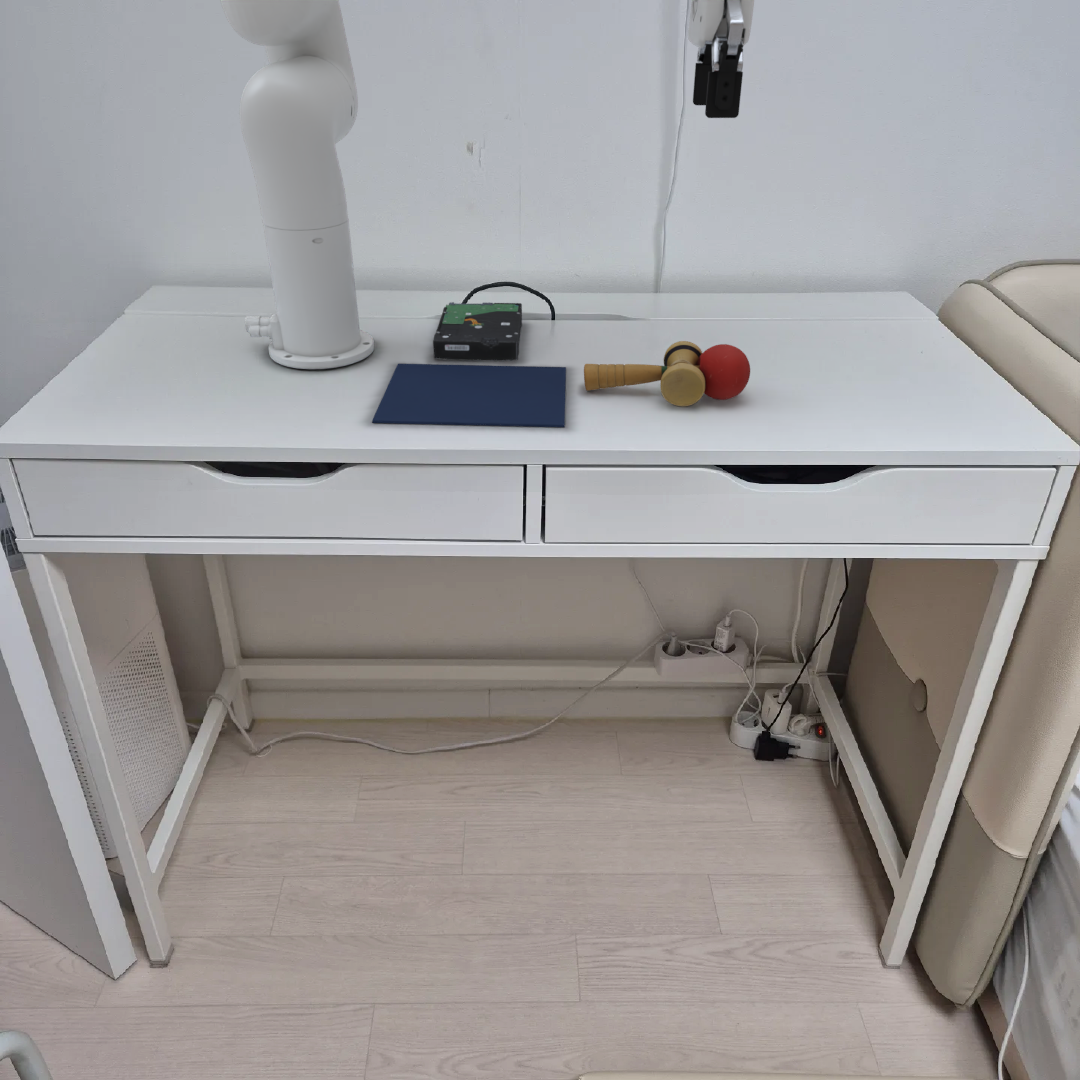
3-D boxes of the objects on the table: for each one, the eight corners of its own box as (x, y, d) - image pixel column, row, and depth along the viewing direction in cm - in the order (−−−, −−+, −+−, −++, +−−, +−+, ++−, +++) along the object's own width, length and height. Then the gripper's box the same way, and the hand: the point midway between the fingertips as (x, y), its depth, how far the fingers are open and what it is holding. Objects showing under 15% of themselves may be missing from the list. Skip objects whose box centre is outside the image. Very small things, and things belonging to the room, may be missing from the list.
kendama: (584, 417, 98) (753, 405, 95) (579, 359, 96) (752, 345, 92) (590, 401, 105) (748, 389, 102) (586, 346, 103) (747, 333, 100)
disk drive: (519, 364, 108) (522, 321, 120) (519, 341, 106) (522, 301, 119) (433, 363, 108) (445, 320, 120) (432, 340, 106) (444, 300, 119)
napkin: (372, 423, 93) (372, 420, 93) (398, 365, 107) (397, 363, 106) (564, 427, 93) (564, 424, 92) (566, 369, 106) (566, 366, 106)
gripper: (681, -87, 90) (669, 100, 100) (704, -98, 76) (687, 123, 85) (755, -88, 90) (736, 100, 99) (793, -99, 76) (767, 122, 85)
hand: (714, 110), depth 92 cm, fingers open, 9 cm apart
